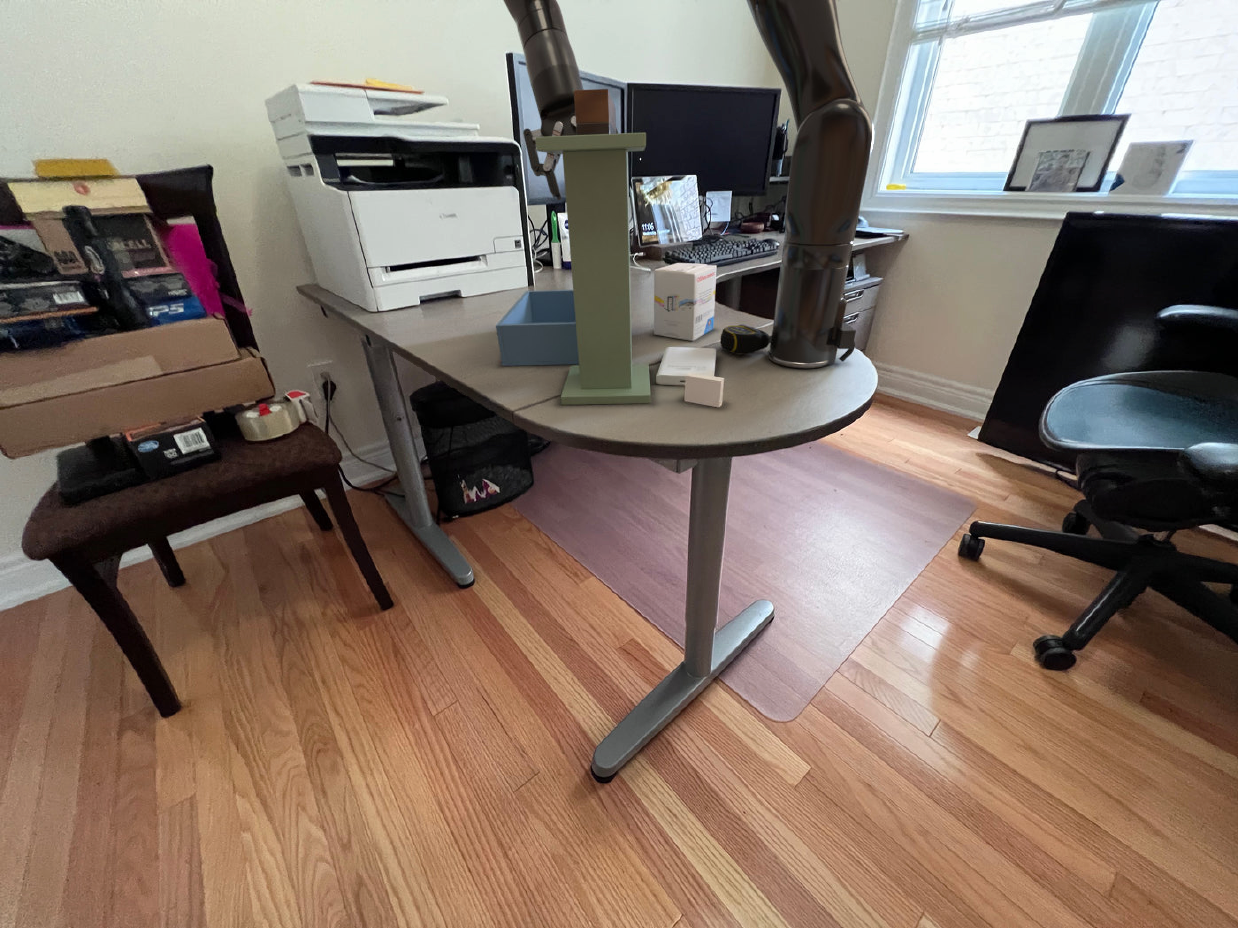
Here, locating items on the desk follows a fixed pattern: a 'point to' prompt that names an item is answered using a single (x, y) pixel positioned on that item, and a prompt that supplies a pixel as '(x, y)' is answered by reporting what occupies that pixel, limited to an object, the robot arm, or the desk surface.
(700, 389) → the eraser
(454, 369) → the desk surface
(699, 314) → the ink box
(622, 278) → the stand
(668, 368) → the hard drive
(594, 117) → the block
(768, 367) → the desk surface
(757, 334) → the tape measure
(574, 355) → the tray
